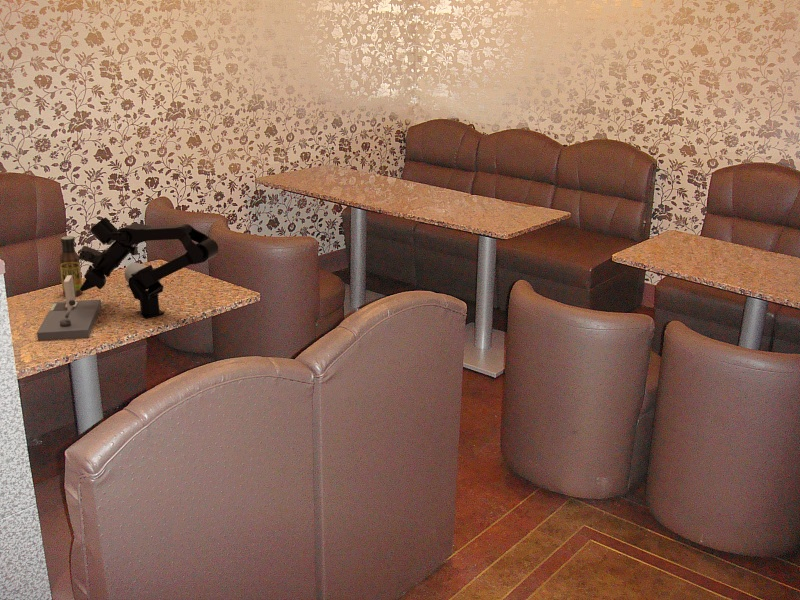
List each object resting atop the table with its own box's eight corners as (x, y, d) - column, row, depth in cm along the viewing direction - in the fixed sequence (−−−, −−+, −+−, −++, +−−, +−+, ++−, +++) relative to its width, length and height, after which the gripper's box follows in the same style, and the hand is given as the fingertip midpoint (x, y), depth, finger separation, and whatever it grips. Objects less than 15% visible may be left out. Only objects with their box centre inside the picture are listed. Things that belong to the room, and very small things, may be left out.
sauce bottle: (63, 298, 264) (55, 240, 257) (63, 292, 269) (55, 235, 262) (83, 296, 266) (76, 239, 259) (83, 290, 271) (76, 234, 264)
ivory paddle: (78, 301, 253) (74, 275, 250) (74, 308, 247) (71, 281, 244) (68, 302, 252) (64, 275, 249) (64, 309, 247) (60, 281, 244)
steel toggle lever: (70, 317, 236) (76, 300, 235) (69, 319, 234) (75, 302, 233) (64, 315, 235) (70, 297, 234) (62, 317, 234) (69, 300, 232)
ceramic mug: (141, 290, 272) (139, 269, 270) (125, 286, 276) (123, 265, 274) (164, 282, 281) (163, 262, 278) (148, 278, 285) (147, 258, 282)
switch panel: (101, 306, 257) (100, 296, 256) (88, 337, 233) (87, 326, 232) (55, 309, 254) (54, 298, 253) (37, 340, 230) (36, 328, 229)
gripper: (97, 230, 253) (65, 264, 255) (88, 246, 236) (53, 283, 237) (126, 253, 257) (94, 286, 259) (118, 270, 240) (84, 306, 242)
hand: (81, 290), depth 249 cm, fingers closed
